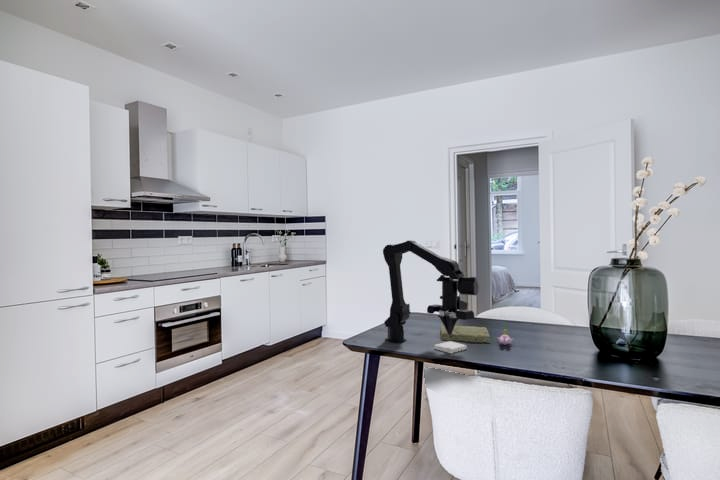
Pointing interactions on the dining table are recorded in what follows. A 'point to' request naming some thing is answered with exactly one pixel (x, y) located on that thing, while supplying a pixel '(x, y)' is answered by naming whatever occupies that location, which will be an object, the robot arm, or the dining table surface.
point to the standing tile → (450, 347)
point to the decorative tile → (466, 334)
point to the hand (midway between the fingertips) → (449, 334)
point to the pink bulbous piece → (505, 338)
